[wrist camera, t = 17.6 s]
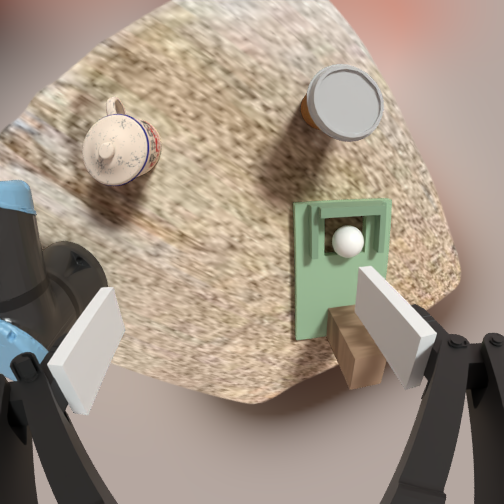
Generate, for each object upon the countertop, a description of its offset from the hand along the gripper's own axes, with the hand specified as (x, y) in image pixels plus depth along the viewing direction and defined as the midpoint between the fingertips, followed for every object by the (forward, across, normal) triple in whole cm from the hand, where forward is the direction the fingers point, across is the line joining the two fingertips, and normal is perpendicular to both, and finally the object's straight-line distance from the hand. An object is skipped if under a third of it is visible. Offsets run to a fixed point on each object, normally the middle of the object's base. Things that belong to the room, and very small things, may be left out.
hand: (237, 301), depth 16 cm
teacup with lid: (+32, -14, +10) cm, 36 cm away
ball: (+29, +17, -8) cm, 35 cm away
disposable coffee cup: (+32, +14, +12) cm, 37 cm away
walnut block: (+30, +17, -23) cm, 41 cm away
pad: (+31, +17, -14) cm, 38 cm away
